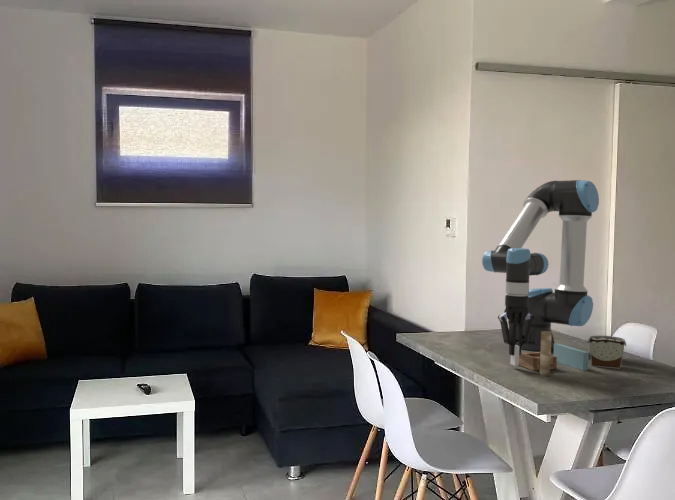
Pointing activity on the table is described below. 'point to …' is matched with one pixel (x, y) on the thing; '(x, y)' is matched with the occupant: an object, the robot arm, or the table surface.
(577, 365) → the wall
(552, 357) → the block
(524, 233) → the robot arm
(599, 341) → the food container
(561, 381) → the table surface
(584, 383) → the table surface
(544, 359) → the dowel
